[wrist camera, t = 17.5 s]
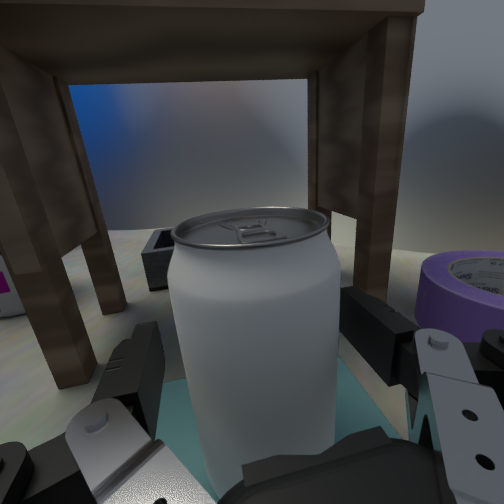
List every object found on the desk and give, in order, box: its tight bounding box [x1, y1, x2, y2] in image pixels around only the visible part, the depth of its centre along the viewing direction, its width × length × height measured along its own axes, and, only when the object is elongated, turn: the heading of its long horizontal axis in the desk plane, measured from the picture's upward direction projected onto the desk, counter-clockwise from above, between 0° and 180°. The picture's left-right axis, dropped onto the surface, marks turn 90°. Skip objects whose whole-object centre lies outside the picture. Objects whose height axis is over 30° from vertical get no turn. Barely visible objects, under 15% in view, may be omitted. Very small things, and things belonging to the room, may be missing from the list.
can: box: [167, 207, 340, 499], centre depth 12 cm, size 6×6×12 cm
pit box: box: [141, 228, 175, 291], centre depth 39 cm, size 12×18×5 cm, turn 102°
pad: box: [155, 356, 402, 503], centre depth 14 cm, size 12×14×1 cm
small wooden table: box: [0, 0, 425, 389], centre depth 23 cm, size 13×26×24 cm, turn 102°
